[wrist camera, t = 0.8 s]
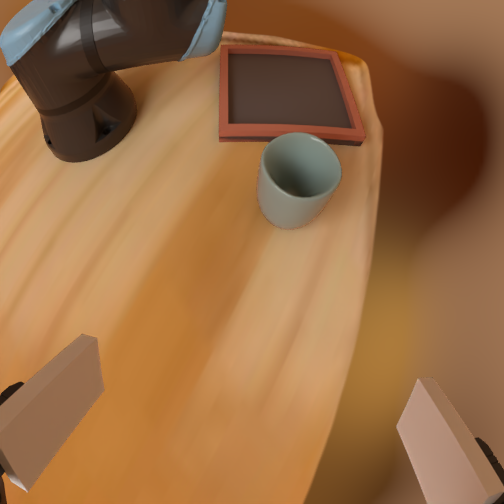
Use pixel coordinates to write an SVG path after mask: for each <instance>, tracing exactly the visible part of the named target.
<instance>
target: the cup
mask: <svg viewBox="0 0 504 504" xmlns="http://www.w3.org/2000/svg"><path fill="white" fill-rule="evenodd" d="M341 177H342V168H341V164H340V161H339V159H338V157H337V155H336V154H335V152H334V151H333V149H332V148H331V147H330V146H329V145H328V144H327V143H325V142H324V141H323V140H322V139H320V138H318V137H316V136H314V135H312V134H309V133H303V132H293V133H287V134H284V135H281V136H279V137H277V138H275V139H273V140H272V141H271V142H269V143H268V145H267V146H266V147H265V148H264V150H263V152H262V155H261V158H260V164H259V170H258V177H257V187H256V191H257V201H258V204H259V207H260V210H261V211H262V213H263V215H264V216H265V218H266V219H267V220H268V221H269V222H270V223H271V224H273V225H274V226H276V227H278V228H280V229H285V230H293V229H298V228H301V227H303V226H305V225H307V224H309V223H310V222H312V221H313V220H314V219H315V218H316V217H317V216H318V215H319V214H320V213H321V212H322V211H323V209H324V208H325V207H326V205H327V204H328V202H329V201H330V199H331V197H332V196H333V194H334V193H335V191H336V189H337V188H338V186H339V184H340V181H341Z"/></svg>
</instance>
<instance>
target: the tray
mask: <svg viewBox="0 0 504 504" xmlns="http://www.w3.org/2000/svg"><path fill="white" fill-rule="evenodd" d="M293 132H303V133H309V134H312V135H314V136H316V137H318V138H320V139H322V140H323V141H324V142H325V143H327V144H338V145H351V146H361V144H362V143H363V141H364V139H365V137H366V135H365V132H364V128H363V125H362V122H361V119H360V116H359V112H358V109H357V106H356V103H355V100H354V98H353V95H352V92H351V89H350V86H349V83H348V81H347V78H346V75H345V73H344V70H343V67H342V65H341V62H340V60H339V57H338V55H337V52H334V51H327V50H319V49H310V48H300V47H287V46H270V45H221V56H220V93H219V142H271V141H272V140H273V139H275V138H277V137H279V136H281V135H284V134H287V133H293Z"/></svg>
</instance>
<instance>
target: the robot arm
mask: <svg viewBox="0 0 504 504" xmlns="http://www.w3.org/2000/svg"><path fill="white" fill-rule="evenodd" d="M226 9H227V1H226V0H33V1H32V2H30V3H29V4H28V5H27V6H25V7H24V8H23V9H22V10H21V11H20V12H19V13H18V14H16V15H15V16H14V18H12V19H11V21H10V22H9V23H8V24H7V26H6V27H5V28H4V30H3V32H2V34H1V37H0V47H1V49H2V52H3V54H4V56H5V58H6V61H7V65H8V66H9V67H10V68H11V70H12V71H13V73H14V75H15V76H16V78H17V79H18V81H19V83H20V84H21V86H22V87H23V89H24V90H25V92H26V93H27V95H28V96H29V98H30V99H31V101H32V103H33V104H34V105H35V107H36V109H37V110H38V112H39V113H40V119H41V124H42V128H43V133H44V138H45V141H46V144H47V146H48V147H49V149H50V150H51V151H52V152H53V154H54V155H55V156H56V157H57V158H59V159H60V160H63V161H66V162H82V161H87V160H90V159H93V158H95V157H97V156H99V155H101V154H103V153H105V152H107V151H108V150H110V149H111V148H112V147H114V146H115V145H116V144H117V143H118V142H119V141H121V139H122V138H123V137H124V136H125V135H126V134H127V133H128V131H129V130H130V128H131V126H132V125H133V122H134V120H135V117H136V112H137V107H136V102H135V99H134V96H133V93H132V91H131V90H130V88H129V87H128V86H127V85H126V84H125V83H124V82H123V81H122V80H121V78H120V77H119V76H118V75H117V74H116V73H115V72H114V71H117V70H122V69H127V68H132V67H138V66H143V65H149V64H155V63H162V62H169V61H184V60H185V59H188V58H195V57H202V56H207V55H209V54H211V53H212V52H214V51H215V50H216V49H217V47H218V45H219V43H220V41H221V37H222V33H223V29H224V23H225V17H226ZM103 391H104V385H103V378H102V372H101V365H100V357H99V349H98V341H97V338H95V337H92V336H88V335H85V334H81V335H80V336H79V337H78V338H77V339H76V340H74V341H73V342H72V343H71V344H70V345H68V346H67V347H66V348H65V349H64V350H63V351H61V352H60V353H59V354H58V355H57V356H56V357H54V358H53V359H52V360H51V361H50V362H49V363H48V364H46V365H45V366H44V367H43V368H42V369H41V370H40V371H38V372H37V373H36V374H35V375H34V376H33V377H32V378H31V379H29V380H28V381H27V382H26V383H25V384H24V383H22V382H18V383H16V384H14V385H11V386H9V387H8V388H7V389H6V390H4V391H3V392H2V393H1V395H0V504H7V501H6V495H5V488H4V482H3V479H2V477H1V476H2V475H3V474H4V472H5V473H6V474H7V476H8V477H9V479H10V480H11V482H13V483H14V484H16V485H17V486H19V487H21V488H22V489H24V490H25V491H27V492H28V491H29V490H30V489H31V487H32V486H33V484H34V483H35V482H36V480H37V479H38V478H39V476H40V475H41V473H42V472H43V471H44V469H45V468H46V467H47V465H48V464H49V462H50V461H51V460H52V458H53V457H54V456H55V454H56V453H57V452H58V450H59V449H60V448H61V446H62V445H63V444H64V442H65V441H66V440H67V438H68V437H69V436H70V434H71V433H72V432H73V430H74V429H75V428H76V426H77V425H78V424H79V422H80V421H81V420H82V419H83V417H84V416H85V415H86V413H87V412H88V411H89V409H90V408H91V407H92V406H93V404H94V403H95V402H96V400H97V399H98V398H99V397H100V395H101V394H102V393H103ZM396 427H397V429H398V432H399V434H400V437H401V439H402V441H403V444H404V446H405V448H406V451H407V453H408V456H409V458H410V461H411V463H412V465H413V468H414V470H415V473H416V476H417V478H418V481H419V483H420V486H421V488H422V491H423V494H424V496H425V499H426V502H427V504H504V469H503V468H502V466H501V465H500V463H498V460H497V458H496V457H495V456H493V452H492V451H491V449H490V448H489V446H488V445H487V444H486V443H485V442H484V441H482V440H481V439H480V438H474V437H473V436H472V434H471V432H470V431H469V429H468V428H467V426H466V425H465V423H464V422H463V420H462V419H461V417H460V416H459V414H458V413H457V412H456V410H455V409H454V407H453V406H452V404H451V403H450V401H449V400H448V398H447V397H446V396H445V394H444V393H443V391H442V390H441V388H440V387H439V386H438V384H437V383H436V381H435V380H434V379H433V378H418V379H417V382H416V384H415V387H414V389H413V391H412V393H411V396H410V398H409V400H408V403H407V405H406V407H405V409H404V411H403V413H402V416H401V418H400V420H399V422H398V424H397V426H396Z"/></svg>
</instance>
